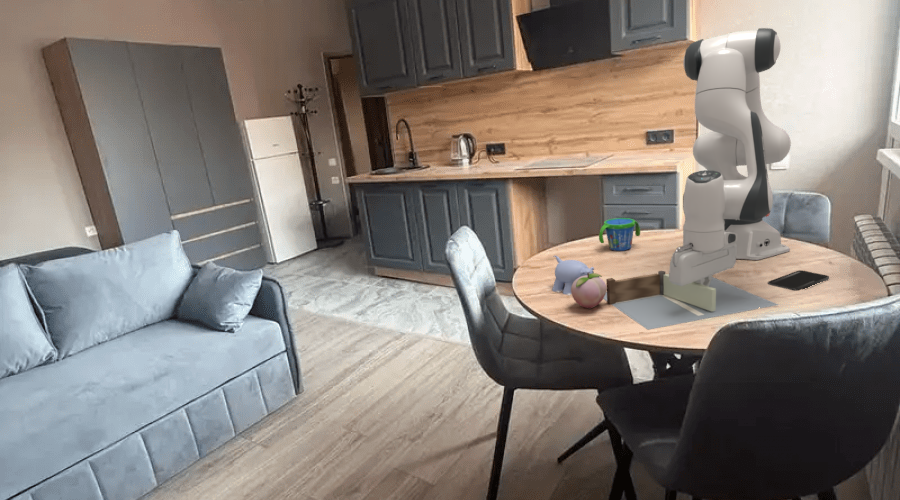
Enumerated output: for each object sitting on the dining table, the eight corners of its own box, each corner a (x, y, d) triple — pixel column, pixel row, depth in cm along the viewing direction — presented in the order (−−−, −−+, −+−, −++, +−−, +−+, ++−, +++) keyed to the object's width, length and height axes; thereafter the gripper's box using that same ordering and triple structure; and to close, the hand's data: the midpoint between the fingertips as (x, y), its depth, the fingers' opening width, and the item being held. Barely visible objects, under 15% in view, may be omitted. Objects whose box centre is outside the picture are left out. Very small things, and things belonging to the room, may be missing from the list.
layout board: (705, 275, 143) (705, 274, 143) (778, 306, 118) (778, 304, 118) (595, 294, 138) (595, 293, 138) (647, 331, 114) (647, 329, 113)
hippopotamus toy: (584, 301, 135) (583, 268, 132) (544, 290, 147) (542, 259, 144) (609, 290, 141) (608, 258, 138) (568, 280, 153) (567, 250, 150)
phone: (765, 282, 132) (799, 269, 138) (765, 286, 132) (799, 273, 138) (797, 290, 125) (831, 276, 131) (796, 294, 125) (831, 280, 131)
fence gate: (663, 294, 131) (663, 274, 130) (667, 293, 132) (667, 273, 130) (711, 311, 118) (712, 289, 117) (715, 310, 119) (716, 288, 117)
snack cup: (606, 255, 173) (605, 227, 170) (593, 248, 183) (592, 221, 180) (648, 248, 175) (647, 220, 172) (632, 242, 185) (632, 215, 182)
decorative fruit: (584, 299, 136) (582, 265, 133) (611, 305, 130) (610, 269, 127) (564, 311, 130) (562, 275, 127) (592, 318, 124) (591, 280, 121)
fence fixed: (662, 292, 134) (662, 269, 132) (666, 294, 132) (666, 270, 130) (606, 302, 131) (606, 278, 130) (610, 304, 130) (609, 280, 128)
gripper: (685, 251, 113) (684, 307, 116) (742, 232, 121) (740, 285, 125) (662, 246, 118) (662, 300, 122) (718, 229, 127) (717, 280, 130)
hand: (702, 293), depth 123 cm, fingers closed
